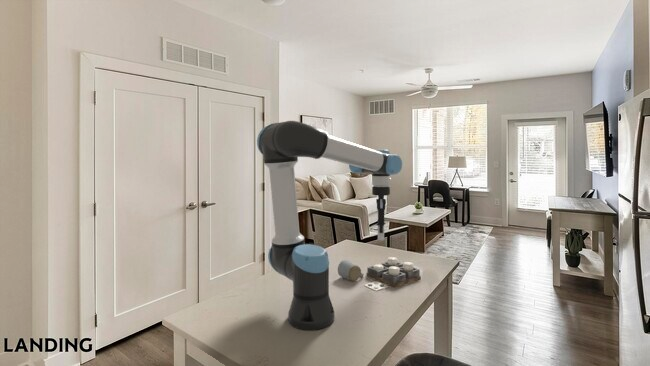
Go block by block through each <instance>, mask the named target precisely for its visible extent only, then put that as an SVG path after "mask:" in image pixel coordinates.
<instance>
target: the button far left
mask: <svg viewBox="0 0 650 366" xmlns="http://www.w3.org/2000/svg"><path fill="white" fill-rule="evenodd" d="M386 262H387V264H388V265H391V266H395V265H397V262H398V258H397V257H393V256H389V257H387V261H386Z"/></svg>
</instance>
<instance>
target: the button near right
mask: <svg viewBox="0 0 650 366" xmlns="http://www.w3.org/2000/svg"><path fill="white" fill-rule="evenodd" d="M399 270H400V268H399V267H395V266H391V267H389V275H391V276H394V277H395V276H398V275H399Z"/></svg>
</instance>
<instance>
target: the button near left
mask: <svg viewBox="0 0 650 366" xmlns="http://www.w3.org/2000/svg"><path fill="white" fill-rule="evenodd" d="M372 266H373V269H375V270H378V271H379V270H382V269H384V266H383V265H382V264H379V263H378V264H374V265H372Z"/></svg>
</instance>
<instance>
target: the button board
mask: <svg viewBox="0 0 650 366" xmlns="http://www.w3.org/2000/svg"><path fill="white" fill-rule="evenodd" d="M381 265H383V266H384V269H382V270H379V271H378V270H375V269H373V265H371V266H368V267H367V269H366V270H367V271H366V277H367V278H371V279H373V280H375V281H377V282H380V283H382V284H385V285H387V286H391V287H392V288H395V289H396V288H399V287H403V286H405V285H407V284H411V283H412V282H416V281H419V280H421V278H422V275H420V270H421V269H420V268H417V267H414V266H413V271H410V272H408V271H405V270H403V262H402V263H401V262H398V261H397V265H395V267H399V268H400V270H399V275H398V276H395V277H394V276H391V275H389V267H391V265H388V264H387V261H385V262H381Z"/></svg>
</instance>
